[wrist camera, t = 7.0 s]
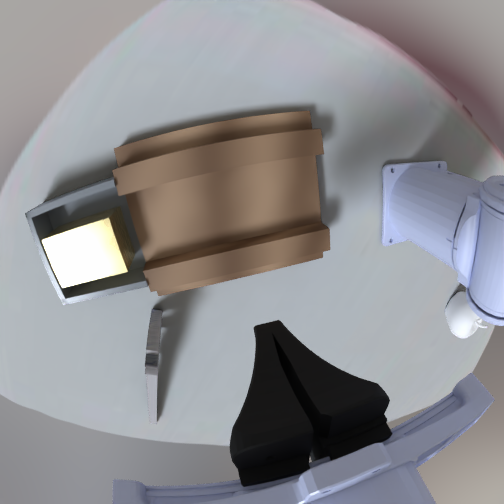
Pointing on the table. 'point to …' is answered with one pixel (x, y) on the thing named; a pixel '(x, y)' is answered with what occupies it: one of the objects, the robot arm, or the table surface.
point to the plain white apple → (462, 316)
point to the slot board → (224, 199)
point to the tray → (76, 208)
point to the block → (90, 248)
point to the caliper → (153, 362)
